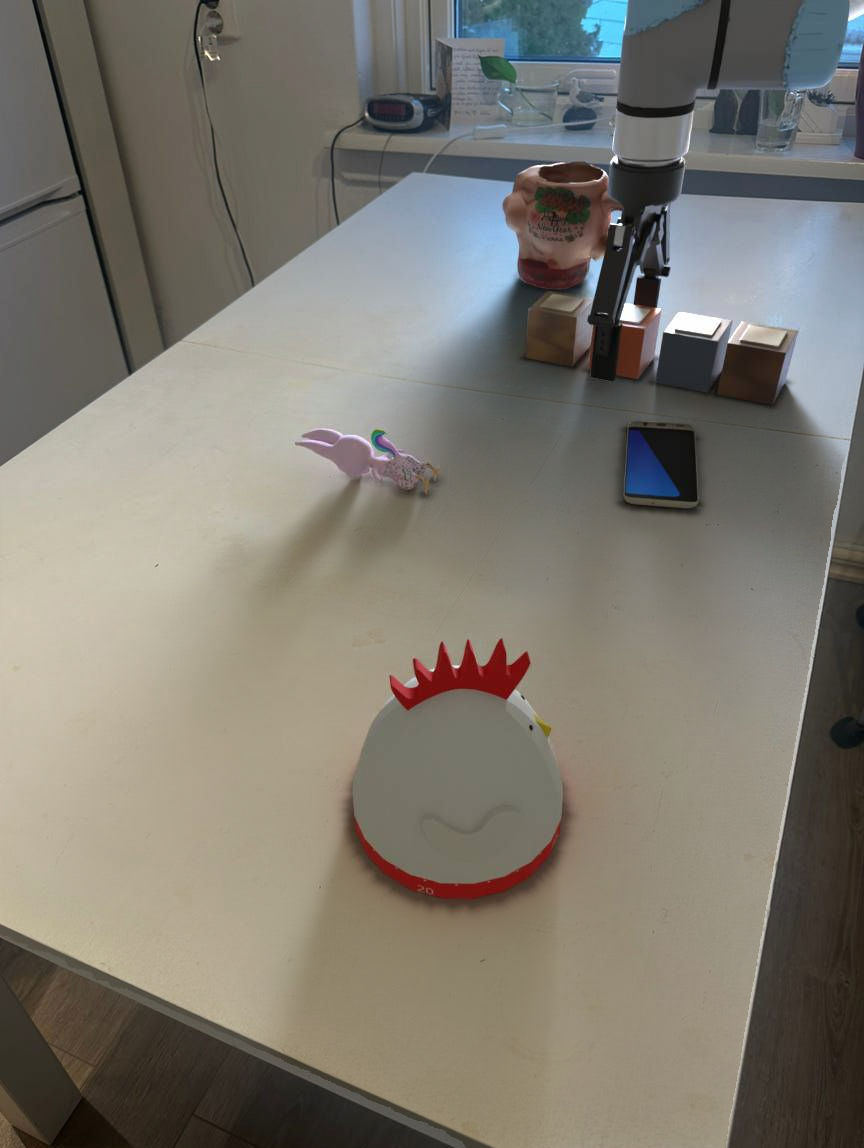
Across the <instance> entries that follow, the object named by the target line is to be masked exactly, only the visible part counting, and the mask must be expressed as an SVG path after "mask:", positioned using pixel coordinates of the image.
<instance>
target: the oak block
mask: <svg viewBox="0 0 864 1148" xmlns="http://www.w3.org/2000/svg"><path fill="white" fill-rule="evenodd" d="M593 300H594V297H589V296H583V295H576V294H570V293H563V292H557V291H552V290H547V291H546V292H545V293H544V294H543V295H542V296H541V297H540V298H539V299H538V300H537V301H535V303H534V304H532V305H531V307H529V308H528V311H527V329H526V330H527V331H526V347H525V348H526V349H525V358H526V359H530V360H536V361H541V362H547V363H551V364H557V365H562V366H567V367H573V366H574V365H575V364H576V363H577V362H578V361H579V360H580V359H581V357H582V356H583V355H584V354H585V353H586V352H587V351H588V350H589V348H591V338H592V328H593V325H590V324H589V323H588V322H587V319H588V315H590V313H591V309H592V304H593Z"/></svg>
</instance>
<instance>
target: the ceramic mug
mask: <svg viewBox="0 0 864 1148" xmlns="http://www.w3.org/2000/svg"><path fill="white" fill-rule="evenodd" d="M608 179H609V174H607V172H606V171H605V170H604V169H603V168H601V167H598V166H595V165H593V164H589V163H588V162H586V161H578V160H577V161H567V162H556V163H553V164H541V165H534V166H530V167H528V168H526V169H525V170H523V171H521V172H519V173H518V174H517V175H516V177H515V179H514V182H513V186H512V191H511V193H509V194H508V195H507V196H505V198H504V199H503V201H502V206H501V207H502V212H503V214H504V219H505V224H506V225H507V227H508V228H509V229H510V230H512V231H513V232H514V233H515V236H516V239H517V243H518V255H517V262H516V266H517V267H516V268H517V273H518V276H519V278H520V279H521V280H522V281H523V282H524V283H525V284H527V285H531V286H533V287H537V288H541V289H547V290H566V289H569V288H571V287H574V286H577V285H578V284H581V283H582V282H583V281H584V280H585V279H586V278H587V276H588V274H589V272H590V267H591V262H592V261H591V260H593V261H595V262H597V261H600V260H601V259H603V258H604V254H605V250H606V243H607V236H608V228H609V226H610V224H612V219H613V213H614V212H617V211H618V212H622V211H623V207H622V206H621V205H620V204H619V203H618V202H614V201H613V200H611V199H610V198H609V196H608V194H607V188H608Z"/></svg>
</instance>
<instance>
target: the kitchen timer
mask: <svg viewBox="0 0 864 1148" xmlns="http://www.w3.org/2000/svg"><path fill="white" fill-rule="evenodd" d="M507 655H508V654H507V649H506V646H505V642H504V639H503V637H501V638H499V639H498V641H497V643H496V644H495V646H494V649H493V651H492V652H491V655H490V658H489V660H488V661H487V663H486V664H483V665H479V664H478V661H477V658H476V657H477V656H476V654H475V650H474V647H473V645H472V642H471V640H470V638H467V639H466V642H465V646H464V651H463V655H462V660H461V663H460V665H453V663H452V660H451V656H450V654H449V651H448V649H447V645H446V644H445V642H444V641H443V640H442V641H441V642H440V643H439V646H438V652H437V657H436V664H435V667H434V668H432V669H428V668H427V667H426V666H425V665H424V664H423V663H422V662H421V661H420V660H419V659H418V658H416V657H414V658H412V665H413V672H414V677H412V678H411V679H408V680H406V681H405V682H404V683H401V682H400V681H399V680H398V679H397V678H396V677H394V676H393V675H392V674H389V675H388V678H389V686H390V690H391V692H392V695H390V697H389V698H388V699H387V700H386V702H385V703H384V704H383V706H382V707H381V709H380V710H379V712H378V713H377V714H376V715H375V717H374V718H373V720H372V721H371V723H370V726H369V728H368V730H367V733H366V737H365V739H364V741H363V745H362V747H361V751H360V754H359V758H358V761H357V765H356V768H355V772H354V774H353V780H352V802H353V803H352V805H353V816H354V823H355V831H356V834H357V836H358V839H359V840H360V842H361V845H362V847H363V849H364V852H365V854H366V855H367V856H368V858H370V859H371V860H372V861H373V863H374V864H376V866H377V867H378V868H379V870H381V872H383V874H385V876H387V877H389V878H390V879H392V880H394V881H396V882H397V883H399V884H401V885H402V886H404V887H406V888H407V889H409V890H412V891H415V892H418V893H421V894H425V895H428V896H431V897H432V896H433V897H435V898H439V899H464V900H465V899H467V900H468V899H471V900H474V899H477V898H482V897H486V896H490V895H495V894H499V893H502V892H505V891H507V890H509V889H511V888H512V887H514V886H517V885H518V884H520V883H522V882H524V881H525V880H527V879H529V878H530V877H532V875H533V874H534V873H535V872H536V871H537V870H538V869H539V868H540V867H541V866H542V865H543V864H544V863H545V861H547V859H549V858H550V855H551V853H552V851H553V848H554V846H555V844H556V842H557V840H558V839H559V836H560V831H561V824H562V816H563V815H562V814H563V800H564V786H563V779H562V776H561V772H560V769H559V765H558V761H557V758H556V755H555V752H554V748H553V745H552V742H551V739H550V734H551V733H552V731H553V728H552V726H551V725H549V724H548V723H547V722H545V721H544V720H542V719H541V718H540V717H539V715H538V714H537V713H536V711H535V710H534V709H533V707H532V706H531V705H530V703H529V701H528V700H527V699H526V697H524V695H523V694H522V693H521V692H520V691H518V690H517V689H516V688H517V687H518V685H519V684H520V683H521V681H523V679H524V677H525V676H526V674H527V672H528V671H529V668H530V667H531V658H530V655H529V652H528V650H526V651H524V652H523V653H522V654H521V655H519V657H518V658H517V659H516V660H515V661H514V662H512V663H511V664H507V661H508V660H507V659H508V657H507Z"/></svg>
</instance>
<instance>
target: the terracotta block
mask: <svg viewBox="0 0 864 1148" xmlns="http://www.w3.org/2000/svg"><path fill="white" fill-rule="evenodd" d="M605 314H607V313H605ZM661 314H662V308H658V307H657V308H652V307H646V306H640V305H633V303H626V302H625V305H624V308H623V311H622V314H621V318H620V322H619V323H622V330H621V338H620V346H619V354H618V361H617V369H616V376H618V377H624V378H628V379H633V380H639V378H640V377H641V376H642V374H643V373H644V372H645V371H646V370H647V368H648V366H649V365H650V364H651V362H652V361H653V360H654V359H655V355H656V348H657V347H656V346H657V341H658V334H659V327H660V323H661ZM594 335H595V325H592V335H591V345H590V347H589V348H590V349H589V357H588V358H589V359H588V369H587V370H588V371H591V364H592V354H593V345H594Z"/></svg>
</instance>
